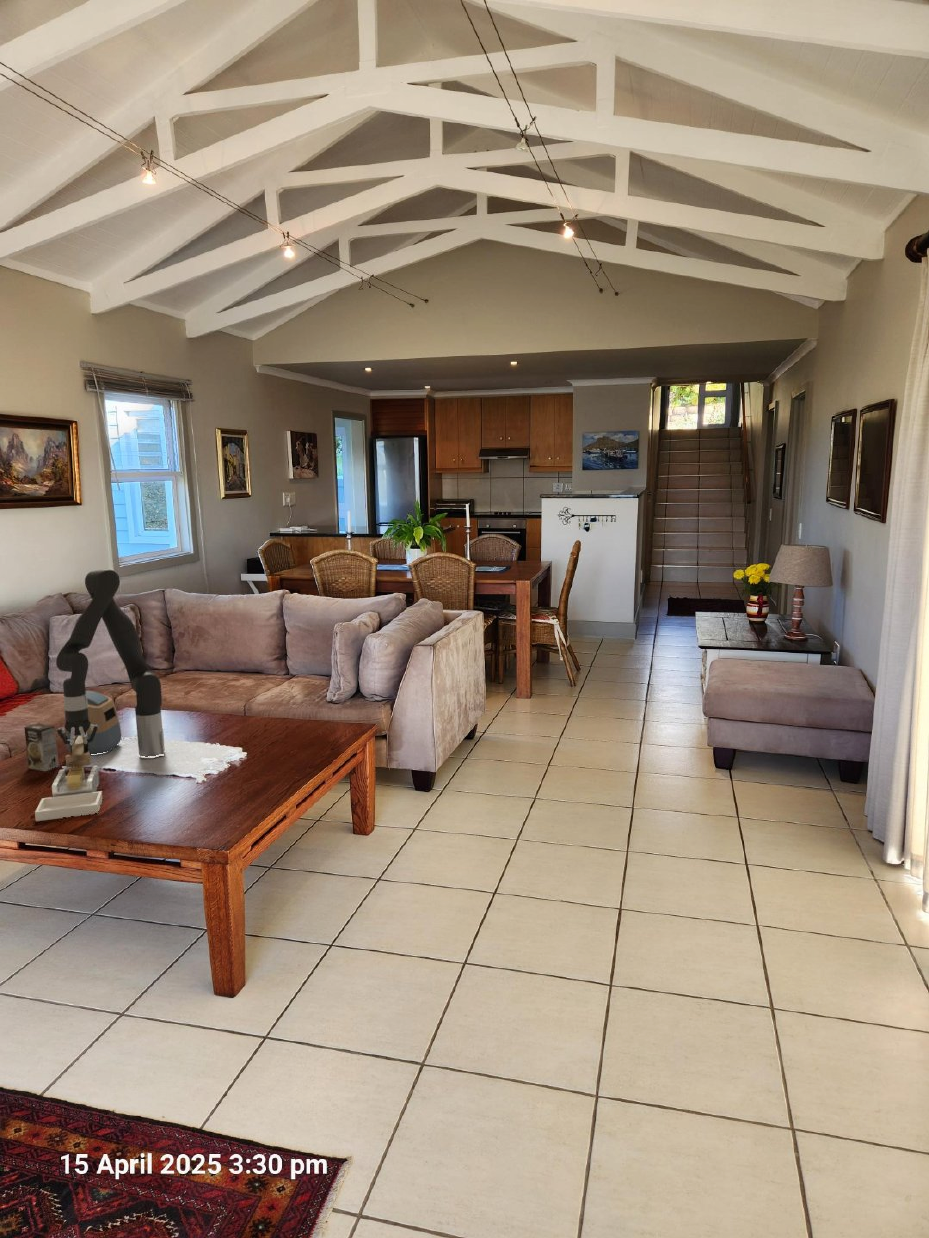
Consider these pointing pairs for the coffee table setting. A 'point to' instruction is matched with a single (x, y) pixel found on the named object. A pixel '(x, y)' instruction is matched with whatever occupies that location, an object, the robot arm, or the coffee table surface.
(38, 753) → the coffee box
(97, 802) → the tray
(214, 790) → the coffee table surface
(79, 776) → the block
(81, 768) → the block
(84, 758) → the beige wedge bookend
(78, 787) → the channel
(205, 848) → the coffee table surface
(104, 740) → the two-tone rounded housing
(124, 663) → the robot arm
